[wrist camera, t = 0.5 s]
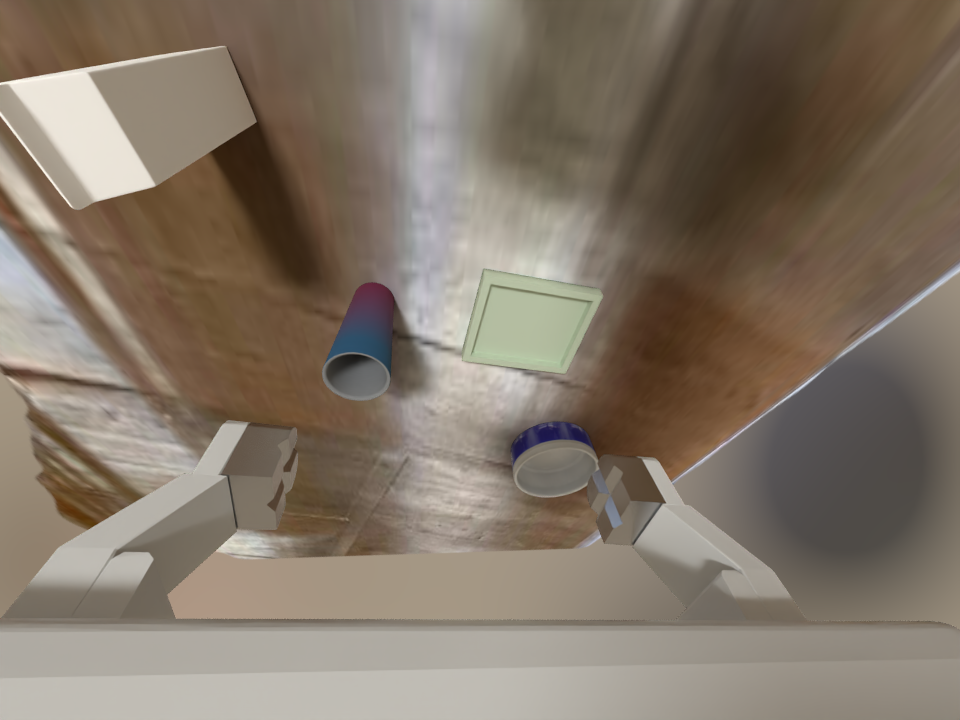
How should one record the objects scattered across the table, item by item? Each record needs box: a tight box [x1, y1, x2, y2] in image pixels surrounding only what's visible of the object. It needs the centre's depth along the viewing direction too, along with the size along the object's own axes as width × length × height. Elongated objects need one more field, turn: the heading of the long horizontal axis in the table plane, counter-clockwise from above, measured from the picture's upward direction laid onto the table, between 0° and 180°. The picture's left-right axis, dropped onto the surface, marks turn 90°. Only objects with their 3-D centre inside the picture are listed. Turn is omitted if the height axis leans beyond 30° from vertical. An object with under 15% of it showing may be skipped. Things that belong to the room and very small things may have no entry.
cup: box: [322, 283, 394, 401], centre depth 48 cm, size 7×7×15 cm
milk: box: [0, 46, 257, 210], centre depth 30 cm, size 6×6×22 cm
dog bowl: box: [511, 422, 599, 497], centre depth 75 cm, size 15×15×6 cm
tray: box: [462, 269, 603, 374], centre depth 57 cm, size 14×16×2 cm
